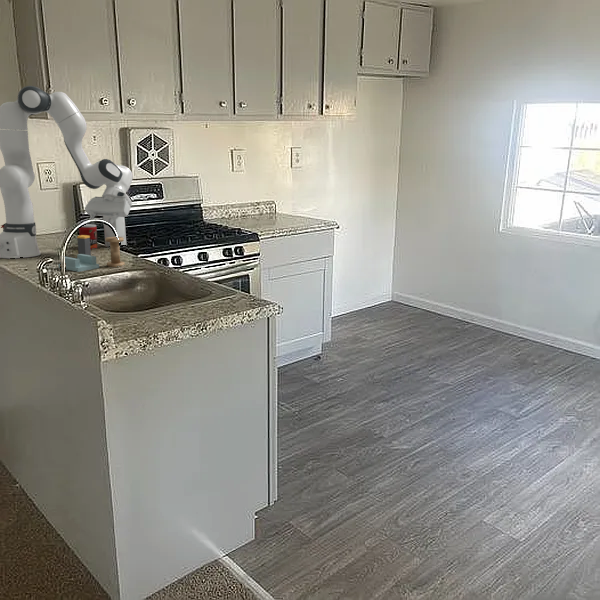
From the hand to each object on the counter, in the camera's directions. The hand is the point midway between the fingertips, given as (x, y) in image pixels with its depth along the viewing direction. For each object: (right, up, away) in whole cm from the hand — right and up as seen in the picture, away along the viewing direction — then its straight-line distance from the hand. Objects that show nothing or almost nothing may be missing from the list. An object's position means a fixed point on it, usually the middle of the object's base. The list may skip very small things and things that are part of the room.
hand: (100, 222), depth 266 cm
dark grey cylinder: (-4, -18, -8) cm, 20 cm away
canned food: (-14, -9, +25) cm, 30 cm away
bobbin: (+11, -20, -15) cm, 27 cm away
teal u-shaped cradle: (-2, -21, -21) cm, 30 cm away
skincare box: (-3, -8, +32) cm, 33 cm away
